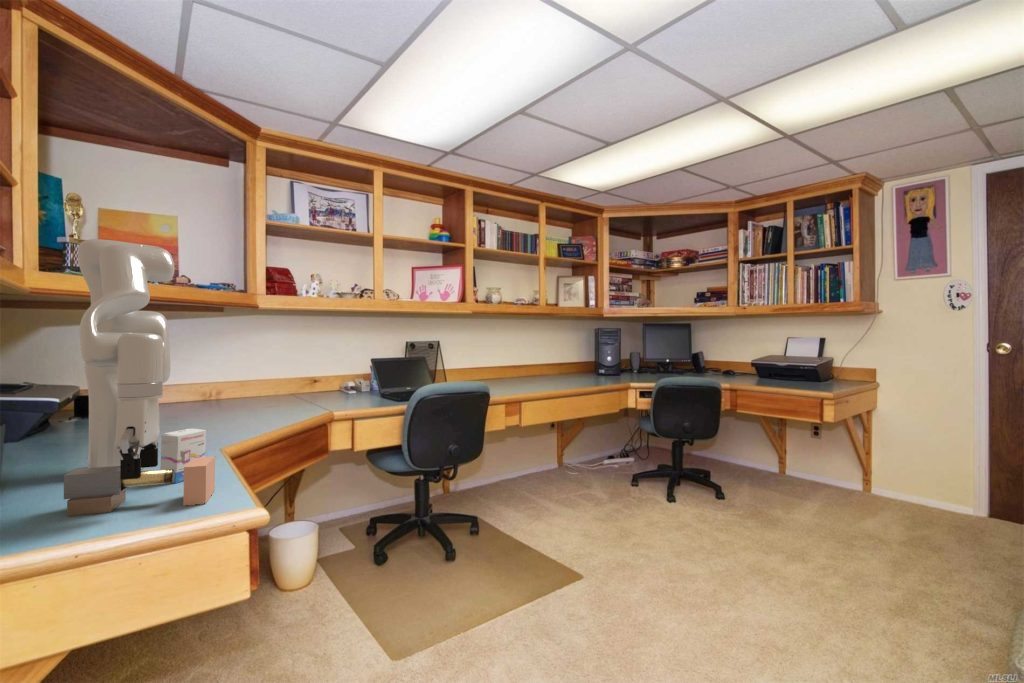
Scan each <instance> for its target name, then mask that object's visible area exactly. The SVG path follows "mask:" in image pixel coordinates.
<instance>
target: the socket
mask: <svg viewBox="0 0 1024 683" xmlns="http://www.w3.org/2000/svg"><path fill="white" fill-rule="evenodd" d="M215 473H216V456H205V457H201V458H194V459H193V460H192V461H191V462H189V463H188V464H187V465H186V466H185V467H184V481H183V507H186V506H185V505H189V506H196V505H195V504H200V505H205V504H204V503H206V502H207V503H208V502H209V500H210V499H211V498H212V496H213V495H214V494H215V492H214V491H215V490H216V489H215V488H216V483H215V482H216V474H215ZM213 493H214V494H213ZM212 494H213V495H212ZM211 495H212V496H211ZM209 498H210V499H209ZM207 503H206V504H207Z"/></svg>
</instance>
